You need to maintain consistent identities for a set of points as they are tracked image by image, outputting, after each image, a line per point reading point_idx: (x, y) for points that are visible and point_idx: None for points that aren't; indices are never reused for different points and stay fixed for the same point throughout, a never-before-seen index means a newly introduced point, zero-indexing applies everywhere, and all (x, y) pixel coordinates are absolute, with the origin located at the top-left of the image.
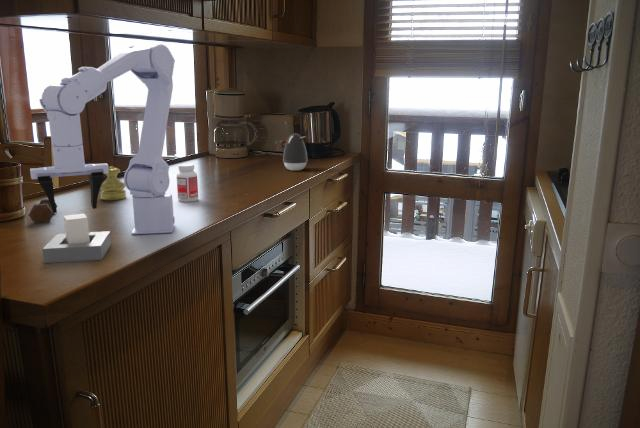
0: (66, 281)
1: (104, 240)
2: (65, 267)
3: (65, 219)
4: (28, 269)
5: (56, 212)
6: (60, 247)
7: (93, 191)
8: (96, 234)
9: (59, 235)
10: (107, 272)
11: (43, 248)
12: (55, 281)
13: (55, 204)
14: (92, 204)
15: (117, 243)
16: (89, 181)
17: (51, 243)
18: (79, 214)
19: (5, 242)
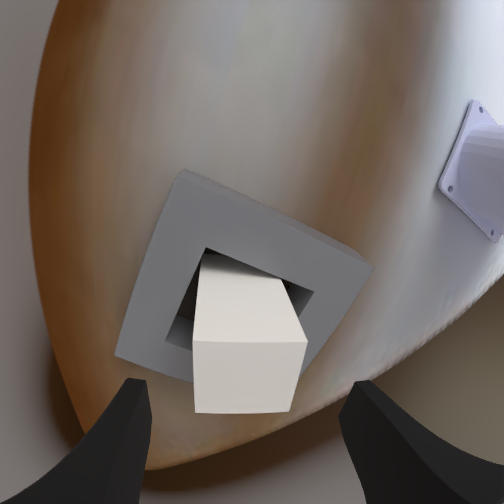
0: (173, 438)
1: (310, 360)
2: (176, 382)
3: (194, 385)
4: (92, 349)
5: (150, 418)
6: (166, 371)
7: (368, 501)
8: (318, 286)
9: (181, 212)
10: (252, 434)
11: (116, 354)
12: (154, 430)
13: (145, 463)
14: (348, 424)
15: (369, 251)
16: (444, 488)
17: (140, 315)
18: (279, 351)
19: (51, 21)
